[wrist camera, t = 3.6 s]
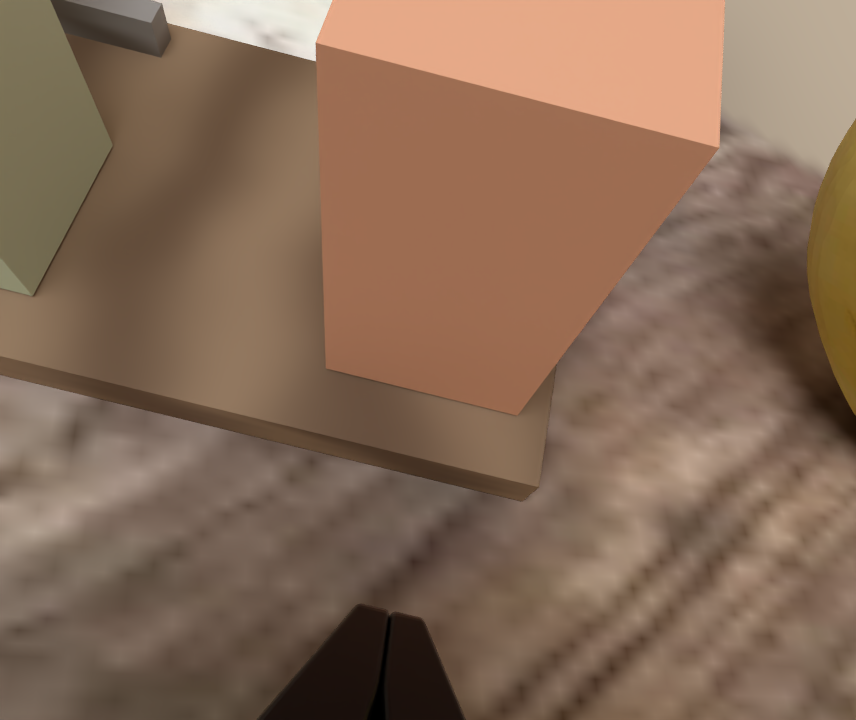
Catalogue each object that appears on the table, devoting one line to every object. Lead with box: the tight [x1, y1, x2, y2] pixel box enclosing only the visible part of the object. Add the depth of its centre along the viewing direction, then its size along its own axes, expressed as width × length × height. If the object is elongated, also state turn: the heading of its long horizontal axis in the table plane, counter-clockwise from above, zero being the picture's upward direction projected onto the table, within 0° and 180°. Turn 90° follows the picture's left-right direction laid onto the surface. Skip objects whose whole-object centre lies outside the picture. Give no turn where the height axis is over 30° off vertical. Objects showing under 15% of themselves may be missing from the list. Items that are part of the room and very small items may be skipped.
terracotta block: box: [316, 0, 725, 416], centre depth 16 cm, size 6×6×12 cm
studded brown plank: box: [0, 0, 557, 501], centre depth 23 cm, size 38×14×4 cm, turn 78°
